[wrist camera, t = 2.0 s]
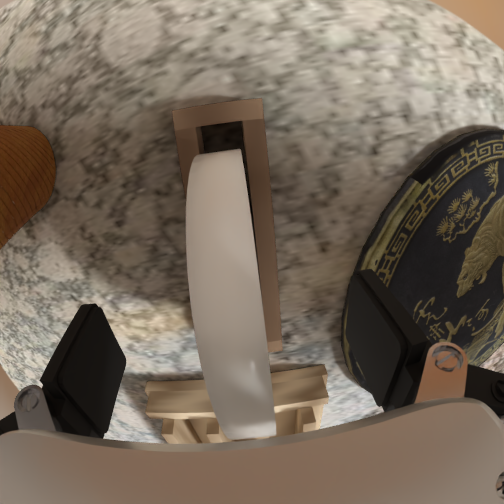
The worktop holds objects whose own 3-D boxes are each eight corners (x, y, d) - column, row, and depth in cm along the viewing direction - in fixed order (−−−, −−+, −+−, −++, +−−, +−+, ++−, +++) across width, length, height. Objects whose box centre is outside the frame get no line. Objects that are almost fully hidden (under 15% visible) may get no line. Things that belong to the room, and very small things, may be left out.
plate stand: (257, 101, 14) (261, 98, 12) (277, 327, 21) (282, 350, 19) (180, 112, 14) (172, 110, 12) (221, 333, 21) (220, 357, 19)
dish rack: (324, 364, 23) (339, 411, 19) (314, 440, 30) (322, 473, 26) (147, 381, 23) (136, 427, 18) (191, 451, 30) (189, 484, 26)
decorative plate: (422, 418, 29) (262, 342, 19) (417, 408, 31) (259, 325, 21) (561, 264, 21) (508, 60, 11) (553, 258, 22) (493, 60, 12)
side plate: (237, 133, 15) (256, 217, 4) (257, 308, 20) (280, 471, 10) (202, 138, 15) (134, 233, 4) (232, 311, 20) (239, 475, 10)
